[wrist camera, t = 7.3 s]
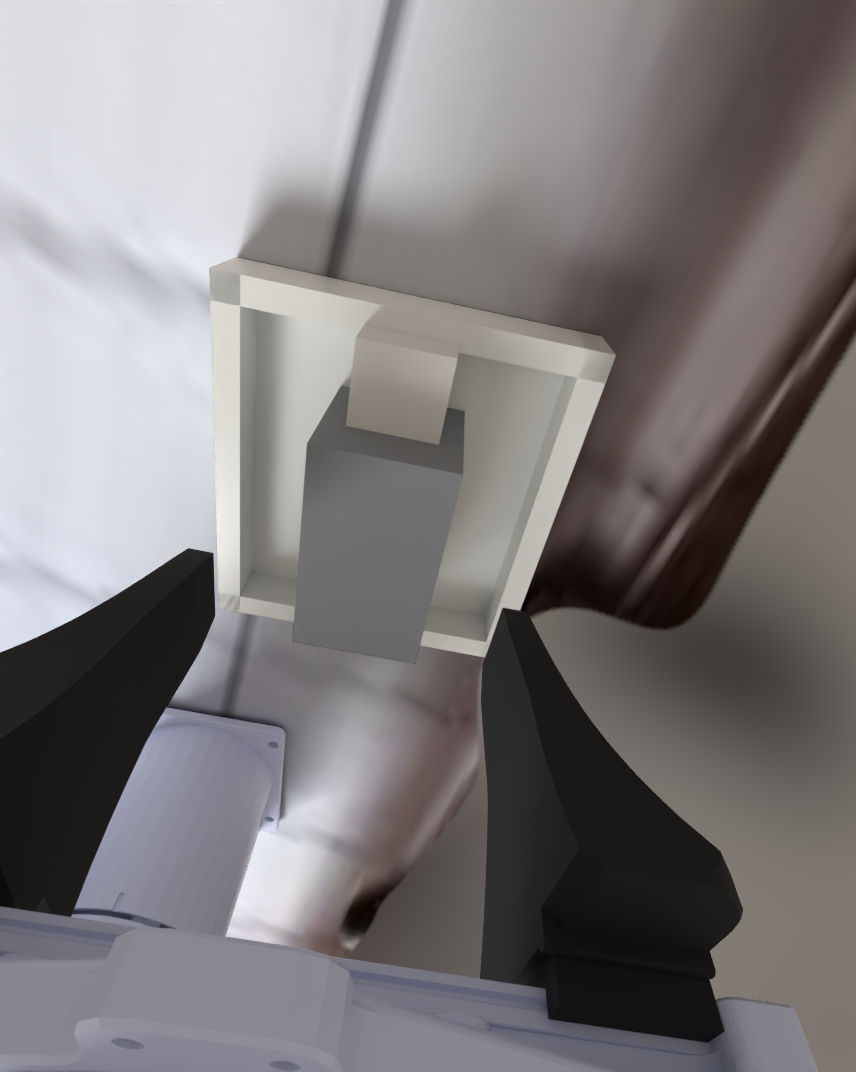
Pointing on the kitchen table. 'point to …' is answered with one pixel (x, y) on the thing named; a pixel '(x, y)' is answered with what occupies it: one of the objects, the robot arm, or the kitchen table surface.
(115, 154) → the kitchen table surface
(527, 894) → the robot arm
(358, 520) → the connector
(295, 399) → the tray
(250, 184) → the kitchen table surface
